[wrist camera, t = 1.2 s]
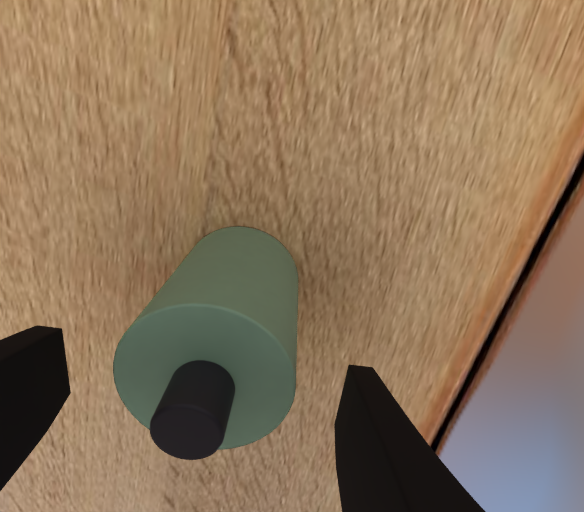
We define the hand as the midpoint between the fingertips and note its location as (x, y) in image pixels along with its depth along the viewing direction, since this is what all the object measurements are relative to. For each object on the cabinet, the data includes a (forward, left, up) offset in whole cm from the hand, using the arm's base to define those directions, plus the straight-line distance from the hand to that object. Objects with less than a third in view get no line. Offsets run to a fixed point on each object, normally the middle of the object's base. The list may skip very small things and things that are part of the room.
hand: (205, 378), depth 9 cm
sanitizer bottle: (0, 0, -6) cm, 6 cm away
